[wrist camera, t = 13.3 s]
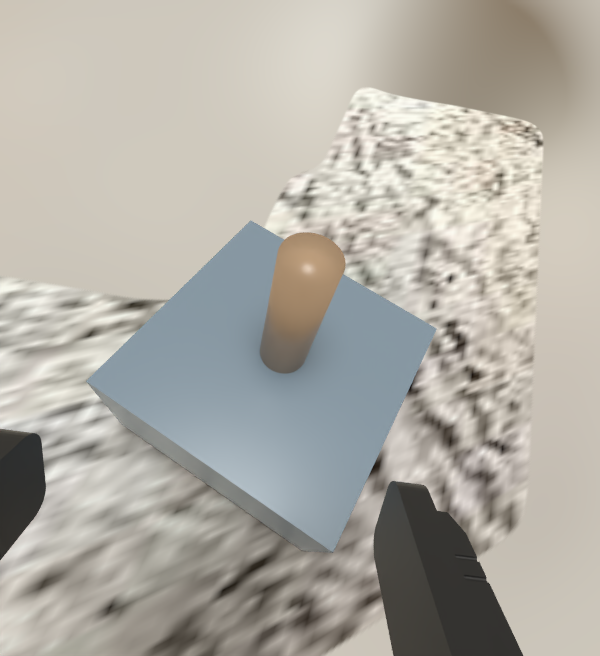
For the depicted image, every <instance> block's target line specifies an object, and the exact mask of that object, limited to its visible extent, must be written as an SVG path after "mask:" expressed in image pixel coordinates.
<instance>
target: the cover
mask: <svg viewBox="0 0 600 656" xmlns="http://www.w3.org/2000/svg"><path fill="white" fill-rule="evenodd" d="M344 270H345V258H344V255H343V253H342V251H341V249H340V248H339V247H338V246H337V245H336V244H335V243H334V242H333V241H331V240H330V239H328V238H326V237H324V236H322V235H319V234H315V233H297V234H294V235H291V236H289V237H288V238H286V239H285V240H283V239H282V238H280V237H278V236H276V235H275V234H273V233H271V232H270V231H268V230H266V229H264V228H263V227H261V226H259V225H258V224H256V223H254V222H252V221H250V222H249V223H248V224H247V225H246V226H245V227H244V228H243V229H242V230H241V231H240V232H239V233H238V234H237V235H235V237H233V238H232V239H231V240H230V241H229V242H228V244H226V245H225V246H224V247H223V248H222V249H221V250H220V251H219V252H218V253H217V254H216V255H215V256H214V257H213V258H212V259H211V260H210V261H209V262H208V263H207V264H206V265H205V266H204V267H203V268H202V269H201V270H200V271H199V272H198V273H197V274H196V275H195V276H193V277H192V279H190V280H189V282H187V283H186V284H185V285H184V286H183V287H182V288H181V289H180V290H179V291H178V292H177V293H176V294H175V295H174V296H173V297H172V298H171V299H170V300H169V301H168V302H167V303H166V304H165V305H164V306H163V307H162V308H161V309H160V310H159V311H158V312H157V313H156V314H155V315H154V316H152V317H151V318H150V319H149V320H148V321H147V322H146V323H145V324H144V325H143V326H142V327H141V328H140V329H139V330H138V331H137V332H136V333H135V334H134V335H133V336H132V337H131V338H130V339H129V340H128V341H127V342H126V343H125V344H124V345H123V346H122V347H121V348H120V349H119V350H118V351H117V352H116V353H115V354H114V355H113V356H112V357H111V358H109V359H108V360H107V361H106V362H105V363H104V364H103V365H102V366H101V367H100V368H99V369H98V370H97V371H96V372H95V373H94V374H93V375H92V376H91V377H90V378H89V379H88V380H87V381H86V382H87V383H88V384H89V385H90V386H91V388H92V389H93V390H94V391H95V393H96V394H97V395H98V396H99V397H100V399H101V400H102V401H103V402H104V403H105V405H106V406H107V407H108V408H109V409H110V411H111V412H112V413H113V414H114V415H115V417H116V418H117V419H118V420H119V421H120V423H121V424H122V425H124V426H125V427H126V428H128V429H129V430H131V431H132V432H134V433H135V434H136V435H138V436H139V437H141V438H142V439H143V440H145V441H146V442H148V443H149V444H151V445H152V446H153V447H155V448H156V449H158V450H159V451H161V452H162V453H163V454H165V455H166V456H168V457H169V458H171V459H172V460H173V461H175V462H176V463H178V464H179V465H181V466H182V467H183V468H185V469H186V470H188V471H189V472H191V473H192V474H193V475H195V476H196V477H198V478H199V479H200V480H202V481H203V482H205V483H206V484H208V485H209V486H210V487H212V488H213V489H215V490H216V491H218V492H219V493H220V494H222V495H223V496H225V497H226V498H228V499H229V500H230V501H232V502H233V503H235V504H236V505H238V506H239V507H240V508H242V509H243V510H245V511H246V512H248V513H249V514H250V515H252V516H253V517H255V518H256V519H257V520H259V521H260V522H262V523H263V524H265V525H266V526H267V527H269V528H270V529H272V530H273V531H275V532H276V533H277V534H279V535H280V536H282V537H283V538H285V539H286V540H287V541H289V542H290V543H292V544H293V545H295V546H296V547H297V548H299V549H300V550H302V551H313V552H332V553H333V551H334V549H335V547H336V545H337V543H338V541H339V538H340V536H341V534H342V532H343V530H344V528H345V526H346V523H347V521H348V519H349V517H350V515H351V513H352V510H353V508H354V506H355V504H356V502H357V500H358V497H359V495H360V493H361V491H362V489H363V487H364V485H365V482H366V480H367V478H368V476H369V474H370V472H371V469H372V467H373V465H374V463H375V461H376V459H377V457H378V454H379V452H380V450H381V448H382V446H383V444H384V441H385V439H386V437H387V435H388V433H389V431H390V428H391V426H392V424H393V422H394V420H395V418H396V416H397V413H398V411H399V409H400V407H401V405H402V403H403V400H404V398H405V396H406V394H407V392H408V390H409V387H410V385H411V383H412V381H413V379H414V377H415V375H416V372H417V370H418V368H419V366H420V364H421V362H422V359H423V357H424V355H425V353H426V351H427V349H428V347H429V344H430V342H431V340H432V338H433V336H434V334H435V331H436V328H434V327H433V326H431V325H429V324H428V323H426V322H424V321H422V320H421V319H419V318H417V317H416V316H414V315H412V314H410V313H409V312H407V311H405V310H404V309H402V308H400V307H398V306H397V305H395V304H393V303H392V302H390V301H388V300H386V299H385V298H383V297H381V296H379V295H378V294H376V293H374V292H373V291H371V290H369V289H367V288H366V287H364V286H362V285H361V284H359V283H357V282H355V281H354V280H352V279H350V278H349V277H347V276H345V275H343V273H344Z"/></svg>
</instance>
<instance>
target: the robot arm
mask: <svg viewBox="0 0 600 656" xmlns="http://www.w3.org/2000/svg"><path fill="white" fill-rule="evenodd" d="M45 491H46V483H45V473H44V463H43V453H42V443H41V439H40V437H39V435H37V434H35V433H28V432H20V431H12V430H5V429H0V560H1V559H2V558H3V556H4V555H5V554H6V553H7V551H8V550H9V549H10V548H11V546H12V545H13V544H14V542H15V541H16V540H17V539H18V537H19V536H20V535H21V534H22V532H23V531H24V530H25V529H26V527H27V526H28V525H29V524H30V522H31V521H32V520H33V519H34V517H35V516H36V514H37V513H38V511H39V509H40V507H41V505H42V502H43V500H44V496H45ZM374 558H375V563H376V568H377V574H378V579H379V584H380V589H381V594H382V599H383V604H384V609H385V614H386V619H387V624H388V629H389V635H390V640H391V645H392V650H393V655H394V656H523V654H522V652H521V650H520V648H519V646H518V644H517V641H516V639H515V637H514V635H513V633H512V631H511V629H510V627H509V624H508V622H507V620H506V618H505V616H504V614H503V612H502V610H501V607H500V605H499V603H498V601H497V599H496V597H495V595H494V592H493V590H492V588H491V586H490V584H489V583H487V581H486V575H485V573H484V571H483V569H482V567H481V565H480V563H479V562H477V556H476V554H475V552H474V550H473V548H472V546H471V543H470V541H469V539H468V537H467V535H466V533H465V532H464V531H463V530H462V528H461V527H460V526H459V525H458V524H457V523H456V522H455V520H454V519H453V518H452V517H451V516H450V515H449V513H448V512H441V511H437V510H436V508H435V505H434V503H433V501H432V498H431V496H430V493H429V491H428V489H427V488H426V486H424V485H419V484H411V483H404V482H396V481H392V482H391V483H390V484H389V486H388V489H387V492H386V496H385V499H384V502H383V505H382V509H381V512H380V515H379V518H378V521H377V525H376V528H375V533H374Z"/></svg>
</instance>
